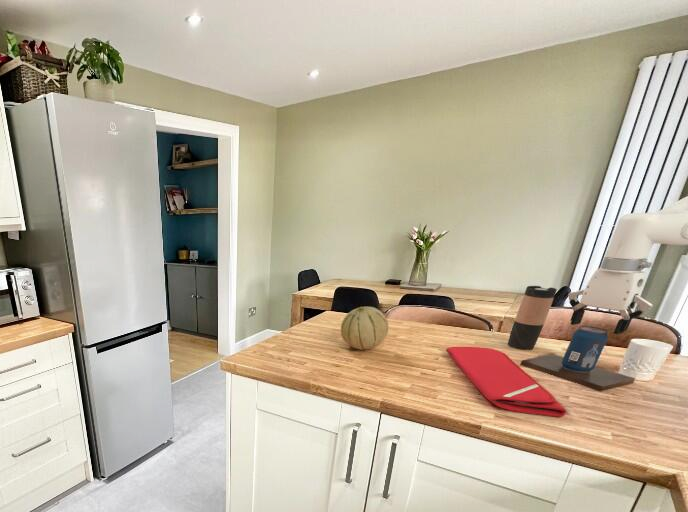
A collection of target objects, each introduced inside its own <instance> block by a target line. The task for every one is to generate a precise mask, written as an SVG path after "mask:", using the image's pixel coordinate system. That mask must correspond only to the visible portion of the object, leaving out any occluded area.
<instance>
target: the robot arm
mask: <svg viewBox="0 0 688 512" xmlns="http://www.w3.org/2000/svg"><path fill="white" fill-rule="evenodd" d="M655 244H663V245H672V246H687V245H688V195H687V196H685V197H683V198H680V199H679V200H677V201H675V202H673V203H671V204H669V205H667V206H666V207H664V208H661V210H659V211H657V212H631V213H626V214H623V215H622V216H621V217H619V220H618V221H617V224H616V226H615V229H614V231H613V234H612V236H611V239H610V242H609V244H608V246H607V250H606V251H605V255H604V257H603V259H602V263H601V265H600V267H598V268H596V270H595V271H594V272H593V274H592V275H591V277H590V278H589V280H588V281H587V283H586V286H585V288H584V289H580V290H576V291H572V292H569V293H568V294H567V297H568V300H569V301H568V302H569V304H570V307H571V308H572V311H573V312H572V315H571V318H570V325H571V326H576V325H580V324H581V323H582V320H583V317H584V315H585V313H586V310H585V308H587V307H591V308H597V309H602V310H608V311H613V312H614V311H615V312H619V314H620V316H621V317H622V318H620V319H618V321H617V324H616V326H615V328H614V330H613V334H614V335H621V334H624V332H625V333H626V332H627V331H628V329H629V327H630V325H631V322H632V320H634V319H636V318H638V317H640V316H642V315H643V316H644V314H645V313H647V312H648V311H649V310H651V309H652V308H653V307H654V304H653V303H651V302H650V301H648V300H646V298H643V297H642V296H641V295H642V292H643V288H644V285H645V281H646V274H647V273H646V271H644V269H650V268H652V266H653V262H649V261H648V260H649V259H648V257H649V255H650V252H651V250H652V247H653V246H654V245H655ZM578 296H581V297H580V301H579V299H578ZM637 306H639V307H640V308H639V309H637V310H635V311H634V309H635V308H636V307H637Z"/></svg>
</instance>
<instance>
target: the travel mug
mask: <svg viewBox="0 0 688 512" xmlns="http://www.w3.org/2000/svg"><path fill="white" fill-rule="evenodd" d="M557 291H558V290H557V288H555V287H548V288H544V287H542V286H540V285H528V286H526V288H525V291H524V292H523V293H524V294H523V296H522V299H521V302H520V305H519V307H518V310H517V312H516V316H515V318H514V322H513V325H512V327H511V331H510V333H509V337H508V341H507V346H509V347H510V348H513V349H516V350H523V351H531V350H534V348H535V346H536V344H537V341H538V340H539V337H540V334H541V332H542V330H543V327H544V325H545V323H546V320H547V317H548V315H549V313H550V309H551V307H552V304H553V302H554V298H555V296H556V293H557Z"/></svg>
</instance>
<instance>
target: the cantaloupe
mask: <svg viewBox="0 0 688 512" xmlns="http://www.w3.org/2000/svg"><path fill="white" fill-rule="evenodd" d="M389 327H390V326H389V322H388V318H387V316H386V315H385V314H384V313H383V312H382V311H381V310H379V309H378V308H376V307H374V306H359V307H356V308H354V309H352V310H350V311H349V312H347V314H346V315H345V316H344V318H343V319H342V321H341V325H340V335H341V337H342V339H343V341H344V342H345V343H346V344H347V345H348V346H349V347H351V348H352V349H355V350H360V351H362V350H366V351H367V350H371V349H373V348H374V349H375V348H376V347H378V346H380V345H381V344H382V343H383V342H384V341H385V339H386V338H387V336H388V334H389Z"/></svg>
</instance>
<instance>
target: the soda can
mask: <svg viewBox="0 0 688 512" xmlns="http://www.w3.org/2000/svg"><path fill="white" fill-rule="evenodd" d="M608 332H609V331H608V329H605V328H602V327H597V326H588V325H582V326H579V327H578V329H576V330H575V331H574V332H573V334H572V336H571V339H570V341H569V344H568V346H567V348H566V351H565V353H564V356H562V357H563V360H562V365H563V367H564V368H565V369H567V370H570V371H574V372H581V373H587V372H589V371H591V370H592V369H594V367H596V365H597V363H598V361H599V359H600V357H601V354H602V352H603V350H604V347H605V345H606V343H607V341H608V339H609V337H608Z"/></svg>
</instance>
